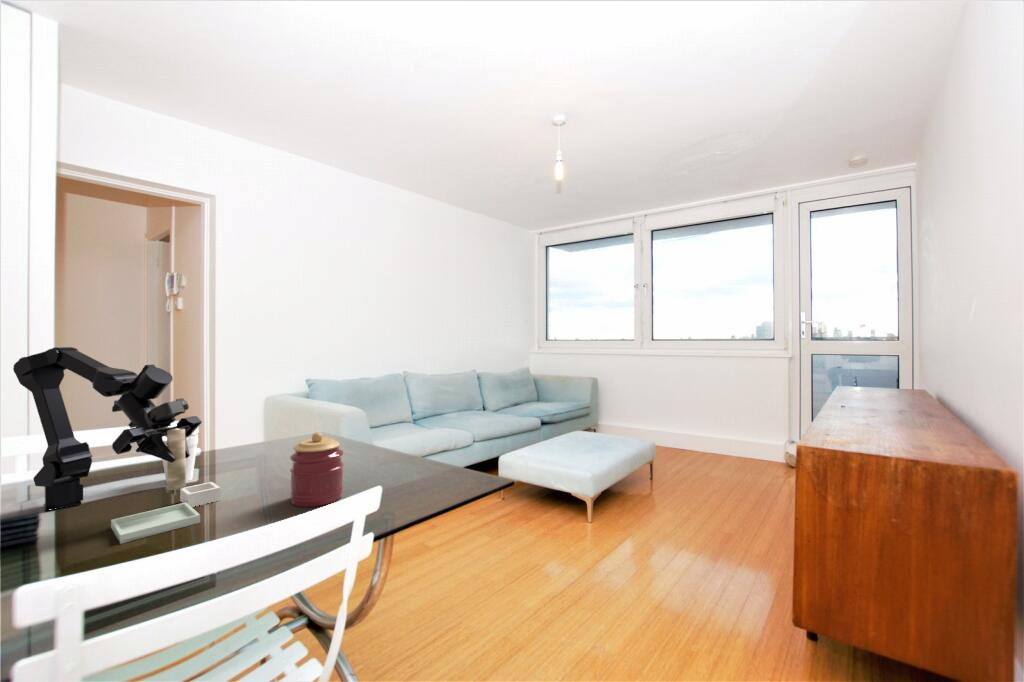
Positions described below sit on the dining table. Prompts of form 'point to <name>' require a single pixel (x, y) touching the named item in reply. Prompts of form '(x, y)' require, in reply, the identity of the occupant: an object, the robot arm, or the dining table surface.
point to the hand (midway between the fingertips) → (181, 458)
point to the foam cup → (189, 461)
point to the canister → (316, 472)
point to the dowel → (176, 459)
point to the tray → (154, 522)
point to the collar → (200, 494)
